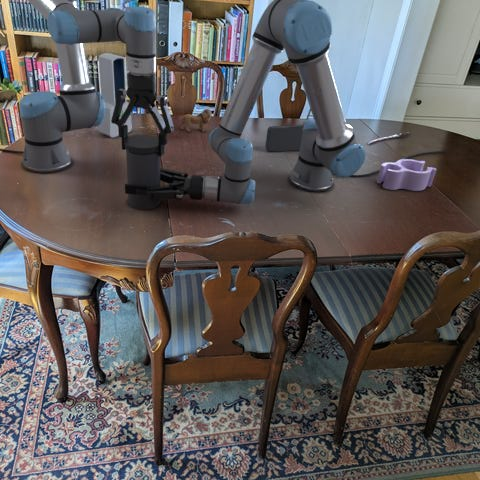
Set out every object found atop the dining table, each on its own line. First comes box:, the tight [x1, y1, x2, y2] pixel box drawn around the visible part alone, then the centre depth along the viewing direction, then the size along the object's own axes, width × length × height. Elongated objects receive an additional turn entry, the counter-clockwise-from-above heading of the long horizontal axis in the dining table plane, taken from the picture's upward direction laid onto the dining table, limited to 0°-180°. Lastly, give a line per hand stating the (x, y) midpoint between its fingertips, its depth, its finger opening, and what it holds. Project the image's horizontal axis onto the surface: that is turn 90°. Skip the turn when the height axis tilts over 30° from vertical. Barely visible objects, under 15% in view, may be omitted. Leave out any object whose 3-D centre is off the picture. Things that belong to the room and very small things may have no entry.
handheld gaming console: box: [264, 124, 304, 152], centre depth 189 cm, size 23×3×10 cm, turn 108°
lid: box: [124, 133, 158, 154], centre depth 133 cm, size 11×11×2 cm
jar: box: [125, 149, 161, 211], centre depth 139 cm, size 10×10×19 cm
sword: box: [367, 133, 409, 145], centre depth 213 cm, size 31×3×1 cm, turn 126°
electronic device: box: [96, 52, 133, 139], centre depth 181 cm, size 12×8×30 cm, turn 148°
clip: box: [376, 158, 437, 192], centre depth 171 cm, size 20×12×7 cm, turn 109°
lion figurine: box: [177, 108, 213, 133], centre depth 197 cm, size 15×5×9 cm, turn 110°
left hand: (143, 151), depth 135 cm, fingers closed on lid, 10 cm apart
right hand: (129, 181), depth 140 cm, fingers closed on jar, 10 cm apart
